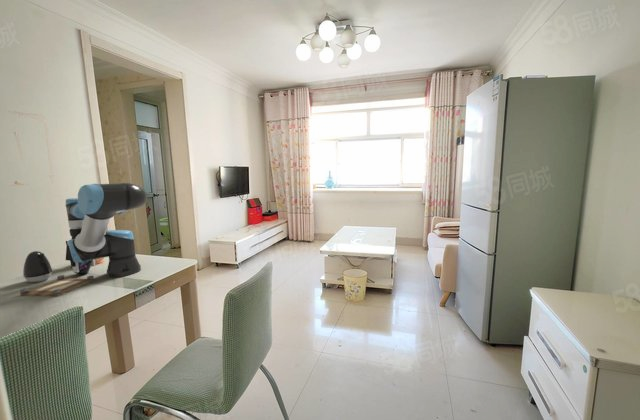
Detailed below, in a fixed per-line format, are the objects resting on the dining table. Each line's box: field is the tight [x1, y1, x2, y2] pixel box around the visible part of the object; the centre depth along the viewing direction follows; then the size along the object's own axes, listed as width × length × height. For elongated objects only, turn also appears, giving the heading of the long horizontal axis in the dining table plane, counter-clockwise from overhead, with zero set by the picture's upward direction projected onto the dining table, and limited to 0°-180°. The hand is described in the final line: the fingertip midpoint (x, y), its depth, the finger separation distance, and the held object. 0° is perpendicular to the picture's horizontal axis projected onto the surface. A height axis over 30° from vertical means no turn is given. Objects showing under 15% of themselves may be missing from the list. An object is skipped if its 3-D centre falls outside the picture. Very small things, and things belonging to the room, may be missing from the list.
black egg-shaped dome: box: [22, 250, 53, 283], centre depth 139 cm, size 10×10×15 cm
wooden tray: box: [19, 274, 95, 297], centre depth 130 cm, size 18×18×2 cm
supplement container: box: [73, 260, 93, 275], centre depth 148 cm, size 7×7×10 cm
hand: (84, 268), depth 148 cm, fingers closed on supplement container, 9 cm apart
